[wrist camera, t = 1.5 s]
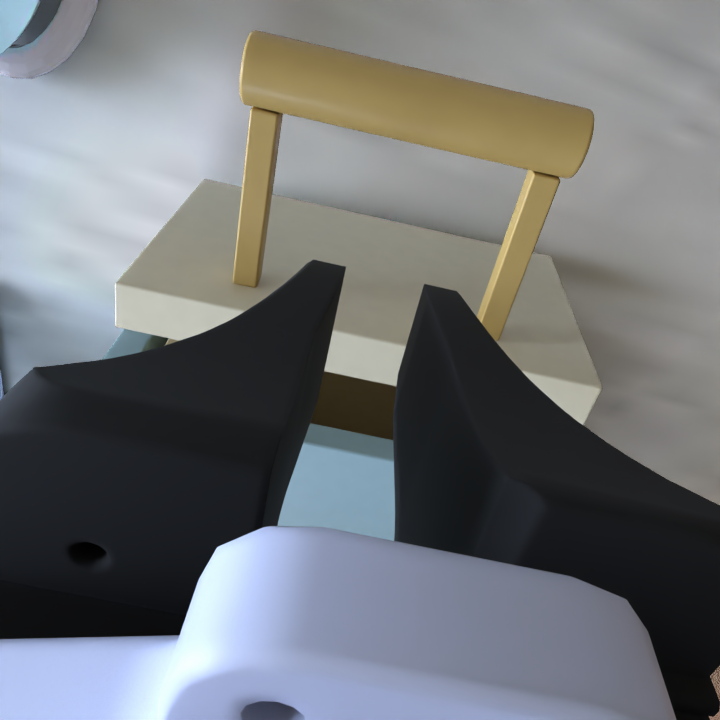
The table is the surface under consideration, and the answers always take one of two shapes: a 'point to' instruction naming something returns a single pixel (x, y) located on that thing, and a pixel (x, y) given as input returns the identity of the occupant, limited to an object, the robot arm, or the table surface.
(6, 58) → the pacifier
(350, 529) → the cabinet
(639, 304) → the table surface
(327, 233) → the drawer
